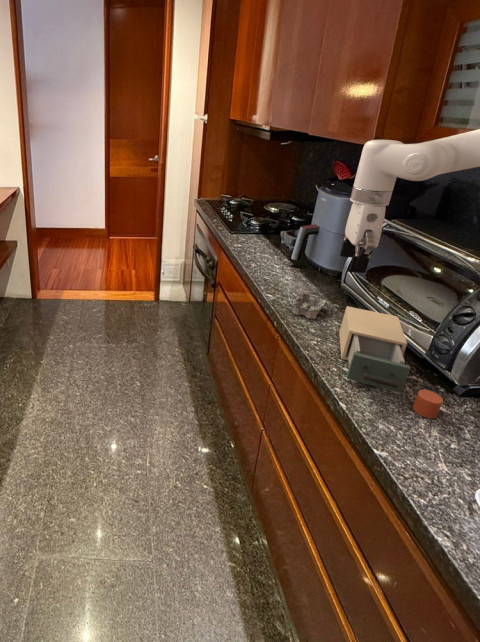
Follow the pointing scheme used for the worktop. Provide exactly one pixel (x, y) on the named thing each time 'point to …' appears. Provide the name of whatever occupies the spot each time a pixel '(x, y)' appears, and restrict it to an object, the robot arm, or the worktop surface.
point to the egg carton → (307, 305)
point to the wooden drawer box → (370, 328)
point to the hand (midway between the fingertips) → (351, 263)
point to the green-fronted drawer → (377, 363)
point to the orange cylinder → (427, 403)
